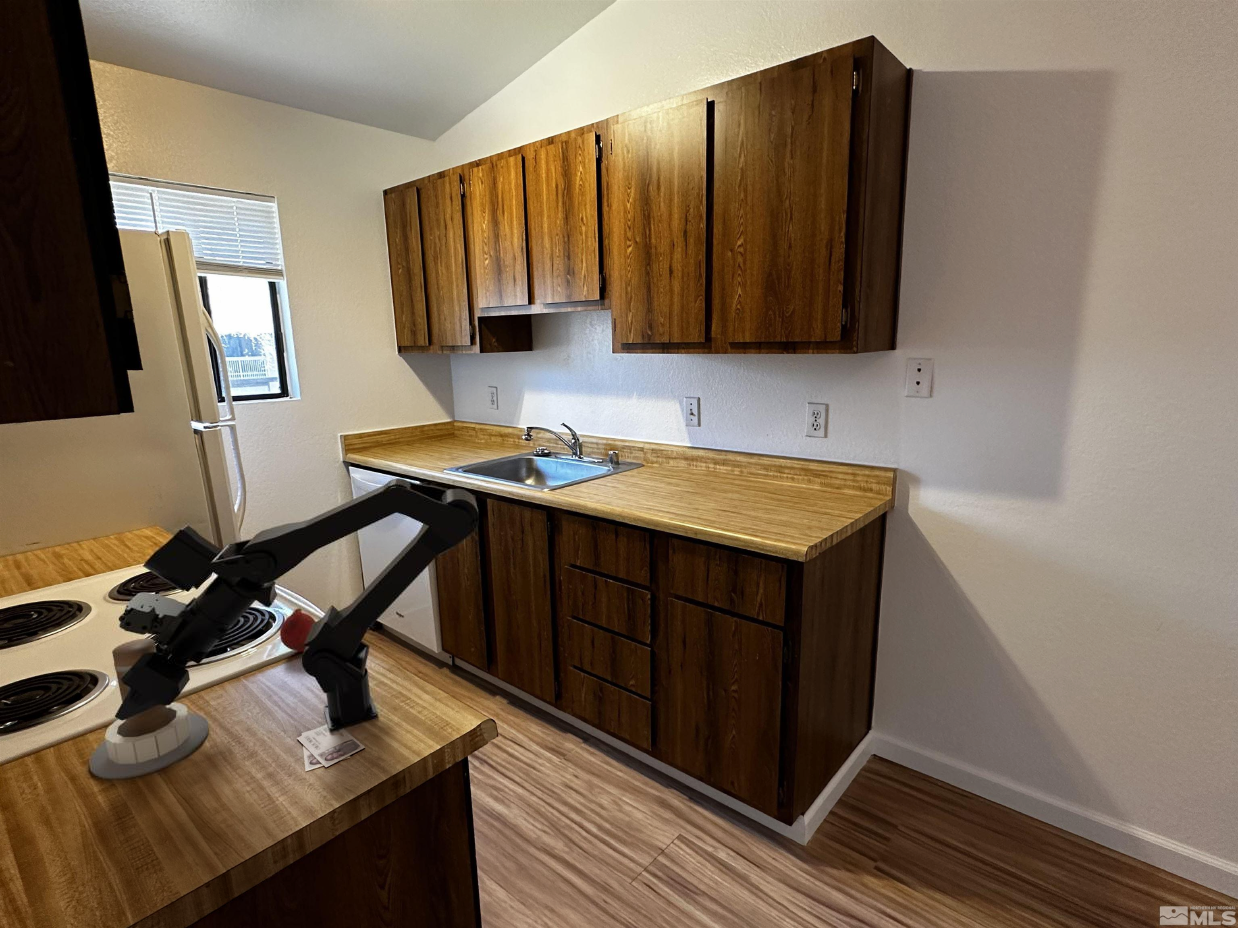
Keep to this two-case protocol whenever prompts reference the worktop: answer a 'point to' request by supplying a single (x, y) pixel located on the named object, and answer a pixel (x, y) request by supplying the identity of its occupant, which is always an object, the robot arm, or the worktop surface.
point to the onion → (296, 630)
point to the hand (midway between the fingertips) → (135, 697)
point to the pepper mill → (123, 662)
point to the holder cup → (148, 745)
